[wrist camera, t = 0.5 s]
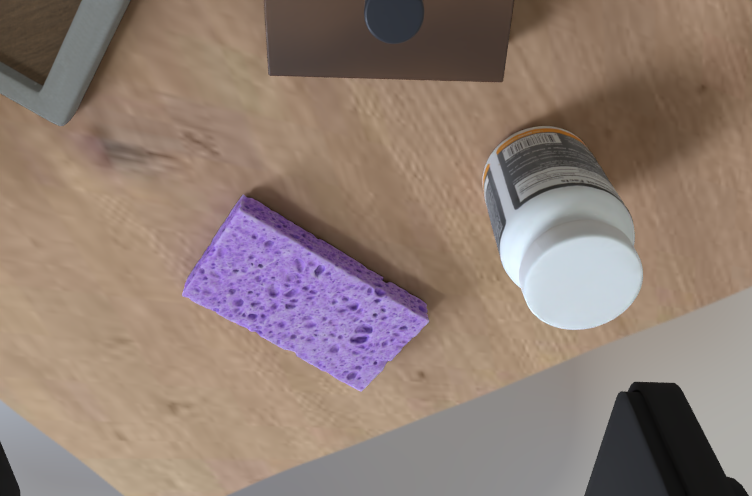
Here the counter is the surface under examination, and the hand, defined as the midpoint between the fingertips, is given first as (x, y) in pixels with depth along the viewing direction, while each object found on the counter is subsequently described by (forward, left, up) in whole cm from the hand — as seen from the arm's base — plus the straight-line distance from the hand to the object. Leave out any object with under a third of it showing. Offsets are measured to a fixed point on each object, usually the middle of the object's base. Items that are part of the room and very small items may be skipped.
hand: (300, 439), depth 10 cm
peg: (-3, +1, -24) cm, 25 cm away
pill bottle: (+8, +9, -24) cm, 27 cm away
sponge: (+16, -3, -24) cm, 29 cm away
